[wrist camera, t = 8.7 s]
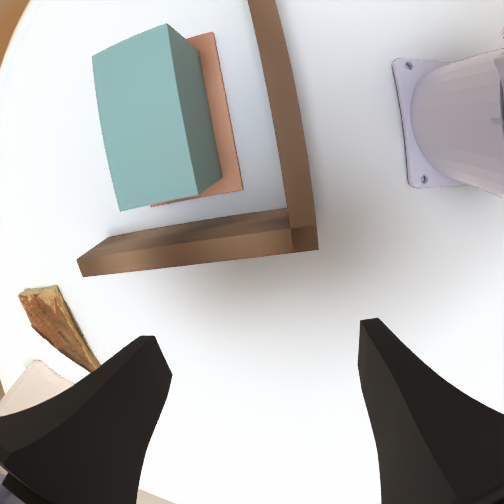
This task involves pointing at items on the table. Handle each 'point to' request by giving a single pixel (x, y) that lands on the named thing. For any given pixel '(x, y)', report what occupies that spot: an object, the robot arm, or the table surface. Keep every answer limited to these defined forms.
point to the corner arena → (231, 177)
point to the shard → (56, 325)
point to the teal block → (155, 118)
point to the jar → (33, 388)
